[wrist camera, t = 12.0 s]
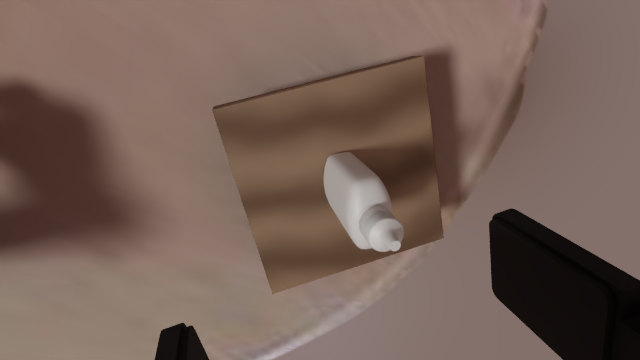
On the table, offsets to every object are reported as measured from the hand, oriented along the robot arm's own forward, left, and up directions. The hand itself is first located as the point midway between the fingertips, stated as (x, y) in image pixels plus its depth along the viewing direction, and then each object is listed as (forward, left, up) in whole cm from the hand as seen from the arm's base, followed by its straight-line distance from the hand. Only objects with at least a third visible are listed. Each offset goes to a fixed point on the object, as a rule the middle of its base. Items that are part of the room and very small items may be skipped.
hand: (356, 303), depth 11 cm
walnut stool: (+5, +5, -28) cm, 29 cm away
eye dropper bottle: (+5, +5, -22) cm, 23 cm away
